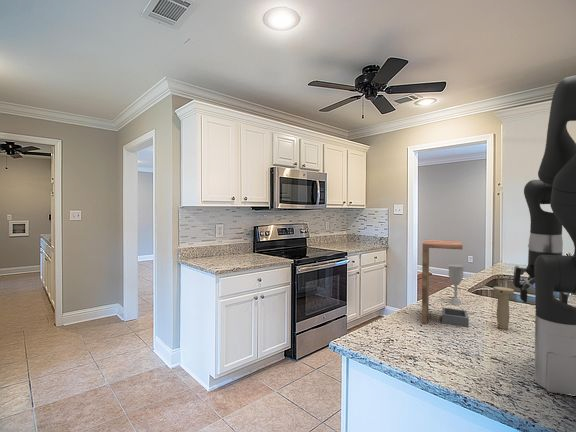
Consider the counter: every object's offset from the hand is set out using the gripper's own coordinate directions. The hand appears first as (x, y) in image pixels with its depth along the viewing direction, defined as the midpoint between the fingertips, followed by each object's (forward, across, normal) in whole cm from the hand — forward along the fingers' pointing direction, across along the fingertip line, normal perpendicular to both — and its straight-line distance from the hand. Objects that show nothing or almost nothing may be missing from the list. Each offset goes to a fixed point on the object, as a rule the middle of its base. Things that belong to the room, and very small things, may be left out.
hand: (542, 303), depth 90 cm
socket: (+19, -22, +25) cm, 39 cm away
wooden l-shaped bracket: (+19, -27, +25) cm, 41 cm away
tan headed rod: (+19, -6, +25) cm, 32 cm away
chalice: (+21, -21, +52) cm, 60 cm away
